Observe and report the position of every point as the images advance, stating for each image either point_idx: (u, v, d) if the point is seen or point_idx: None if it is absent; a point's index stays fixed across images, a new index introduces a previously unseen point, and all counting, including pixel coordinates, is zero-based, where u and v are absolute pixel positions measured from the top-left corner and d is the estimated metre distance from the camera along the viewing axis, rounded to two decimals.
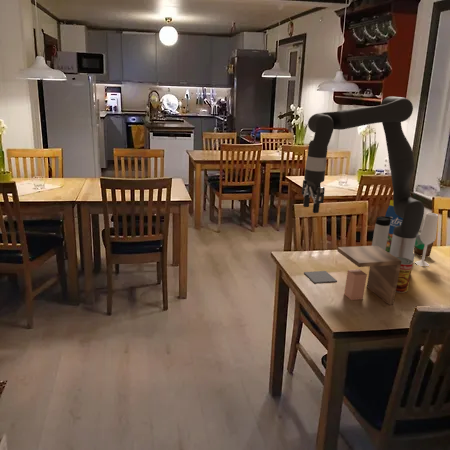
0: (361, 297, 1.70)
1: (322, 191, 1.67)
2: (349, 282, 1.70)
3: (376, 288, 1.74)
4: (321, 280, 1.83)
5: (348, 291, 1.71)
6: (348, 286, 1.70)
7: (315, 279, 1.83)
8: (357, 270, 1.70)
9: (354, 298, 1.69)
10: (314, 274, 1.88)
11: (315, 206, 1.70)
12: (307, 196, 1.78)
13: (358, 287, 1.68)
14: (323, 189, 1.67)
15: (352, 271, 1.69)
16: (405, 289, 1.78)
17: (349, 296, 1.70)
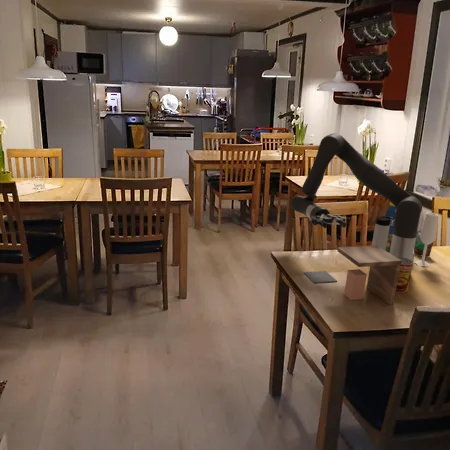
0: (361, 297, 1.70)
1: (310, 218, 1.89)
2: (349, 282, 1.70)
3: (376, 288, 1.74)
4: (321, 280, 1.83)
5: (348, 291, 1.71)
6: (348, 286, 1.70)
7: (315, 279, 1.83)
8: (357, 270, 1.70)
9: (354, 298, 1.69)
10: (314, 274, 1.88)
11: None
12: (339, 222, 1.88)
13: (358, 287, 1.68)
14: (310, 217, 1.90)
15: (352, 271, 1.69)
16: (405, 289, 1.78)
17: (349, 296, 1.70)
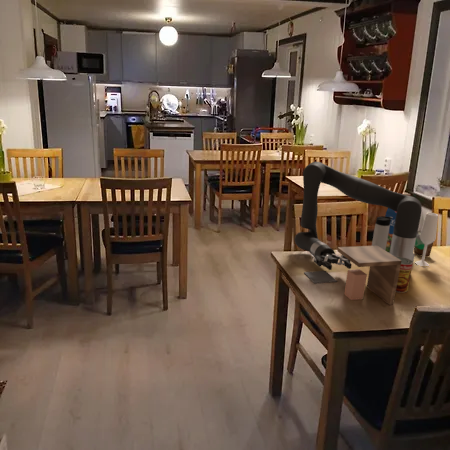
0: (361, 297, 1.70)
1: (315, 258, 1.87)
2: (349, 282, 1.70)
3: (376, 288, 1.74)
4: (321, 280, 1.83)
5: (348, 291, 1.71)
6: (348, 286, 1.70)
7: (315, 279, 1.83)
8: (357, 270, 1.70)
9: (354, 298, 1.69)
10: (314, 274, 1.88)
11: (326, 266, 1.82)
12: (344, 262, 1.85)
13: (358, 287, 1.68)
14: (314, 257, 1.87)
15: (352, 271, 1.69)
16: (405, 289, 1.78)
17: (349, 296, 1.70)
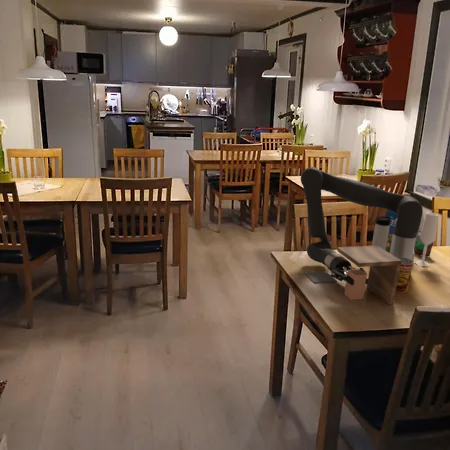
0: (361, 297, 1.70)
1: (333, 272, 1.73)
2: None
3: (376, 288, 1.74)
4: (321, 280, 1.83)
5: (348, 291, 1.70)
6: (348, 286, 1.70)
7: (315, 279, 1.83)
8: (357, 270, 1.70)
9: (354, 298, 1.69)
10: (314, 274, 1.88)
11: (347, 281, 1.69)
12: None
13: (358, 287, 1.68)
14: (331, 271, 1.74)
15: (352, 271, 1.69)
16: (405, 289, 1.78)
17: (349, 296, 1.70)
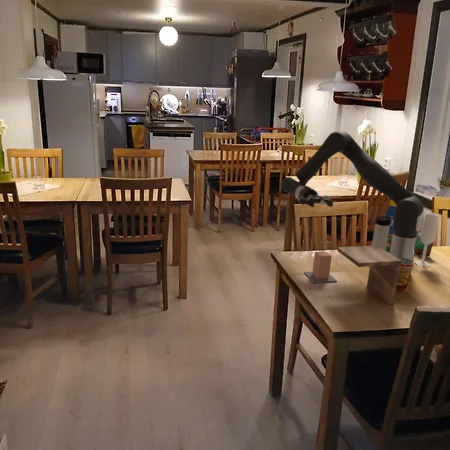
0: (327, 276, 1.85)
1: (298, 198, 1.96)
2: (316, 263, 1.85)
3: (376, 288, 1.74)
4: (321, 280, 1.83)
5: (315, 271, 1.86)
6: (315, 266, 1.85)
7: (315, 279, 1.83)
8: (323, 252, 1.85)
9: (320, 277, 1.84)
10: None
11: (308, 204, 1.91)
12: (326, 201, 1.94)
13: (324, 267, 1.83)
14: (298, 197, 1.96)
15: (318, 253, 1.84)
16: (405, 289, 1.78)
17: (316, 276, 1.85)
